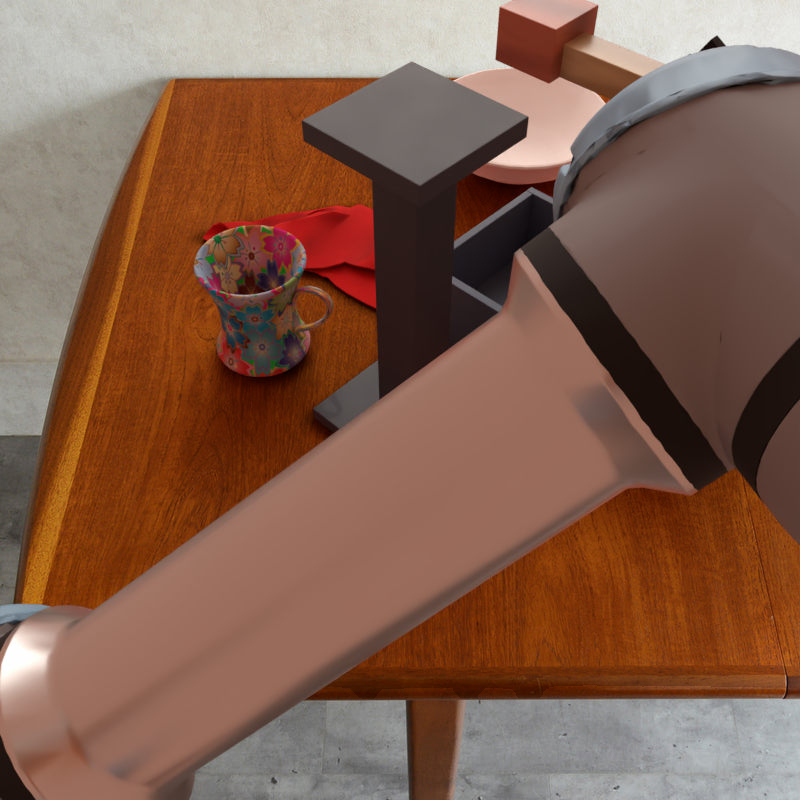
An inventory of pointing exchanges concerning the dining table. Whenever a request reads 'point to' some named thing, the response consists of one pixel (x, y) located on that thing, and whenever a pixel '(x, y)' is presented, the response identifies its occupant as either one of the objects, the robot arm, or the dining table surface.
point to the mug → (258, 298)
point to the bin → (492, 260)
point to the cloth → (330, 245)
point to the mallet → (566, 46)
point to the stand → (409, 209)
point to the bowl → (535, 122)
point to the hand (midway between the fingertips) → (687, 60)
